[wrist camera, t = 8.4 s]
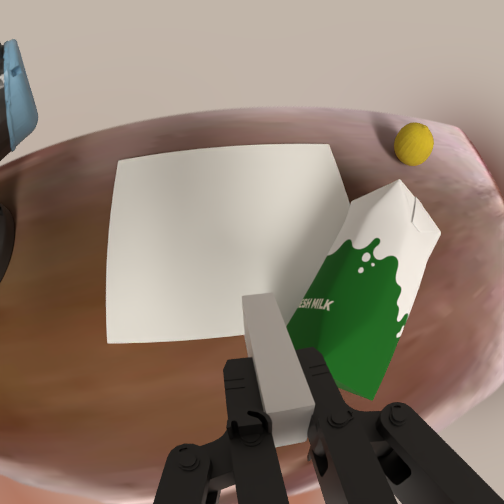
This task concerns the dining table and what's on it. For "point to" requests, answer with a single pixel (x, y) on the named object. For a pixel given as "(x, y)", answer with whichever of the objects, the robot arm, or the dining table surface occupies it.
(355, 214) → the soya milk
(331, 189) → the mat
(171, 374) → the dining table surface
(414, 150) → the lemon
